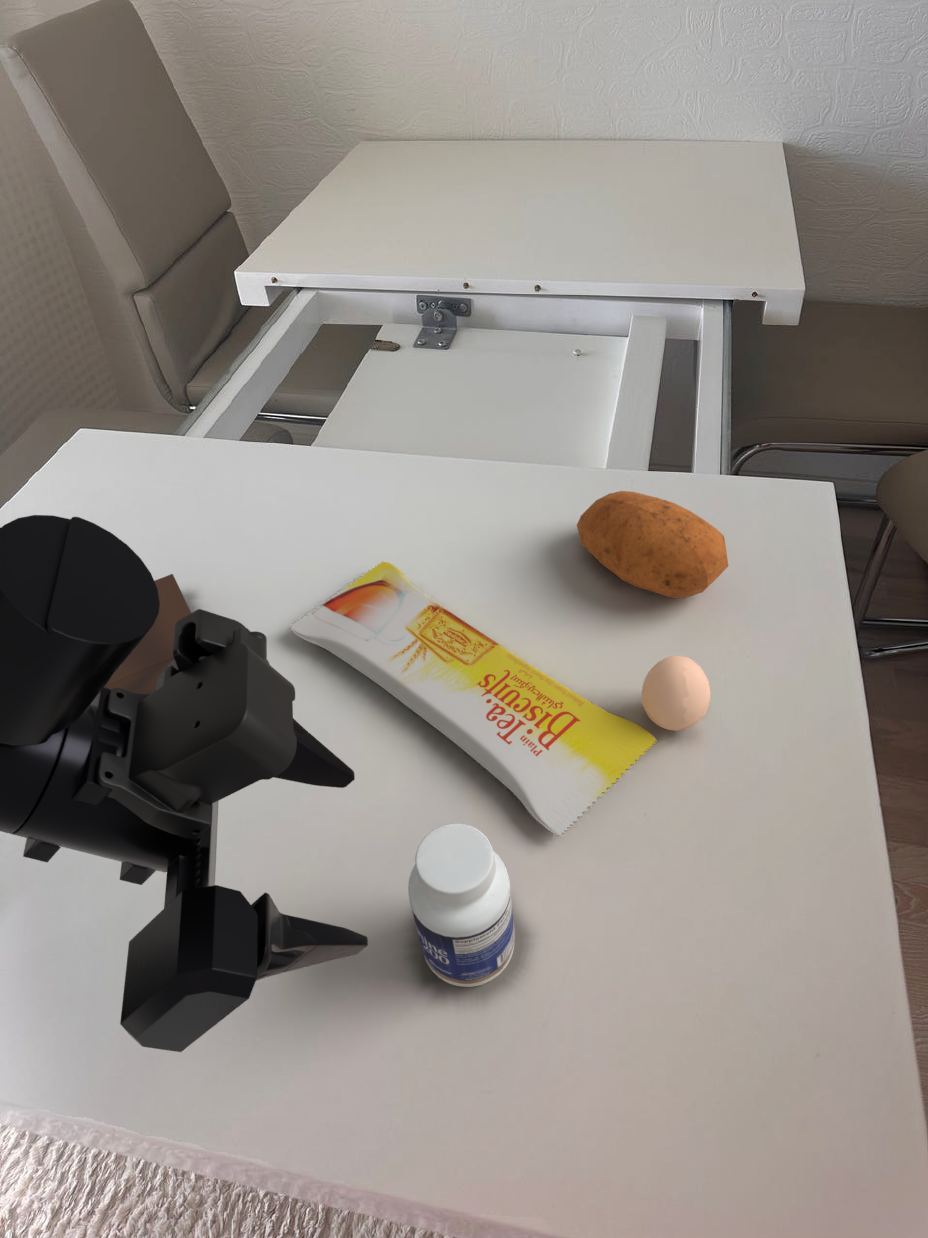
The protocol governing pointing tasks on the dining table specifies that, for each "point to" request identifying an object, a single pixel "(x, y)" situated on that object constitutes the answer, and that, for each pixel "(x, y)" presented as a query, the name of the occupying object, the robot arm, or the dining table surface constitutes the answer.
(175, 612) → the walnut block
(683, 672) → the egg
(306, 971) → the dining table surface
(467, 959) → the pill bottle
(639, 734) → the food package
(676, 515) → the potato
